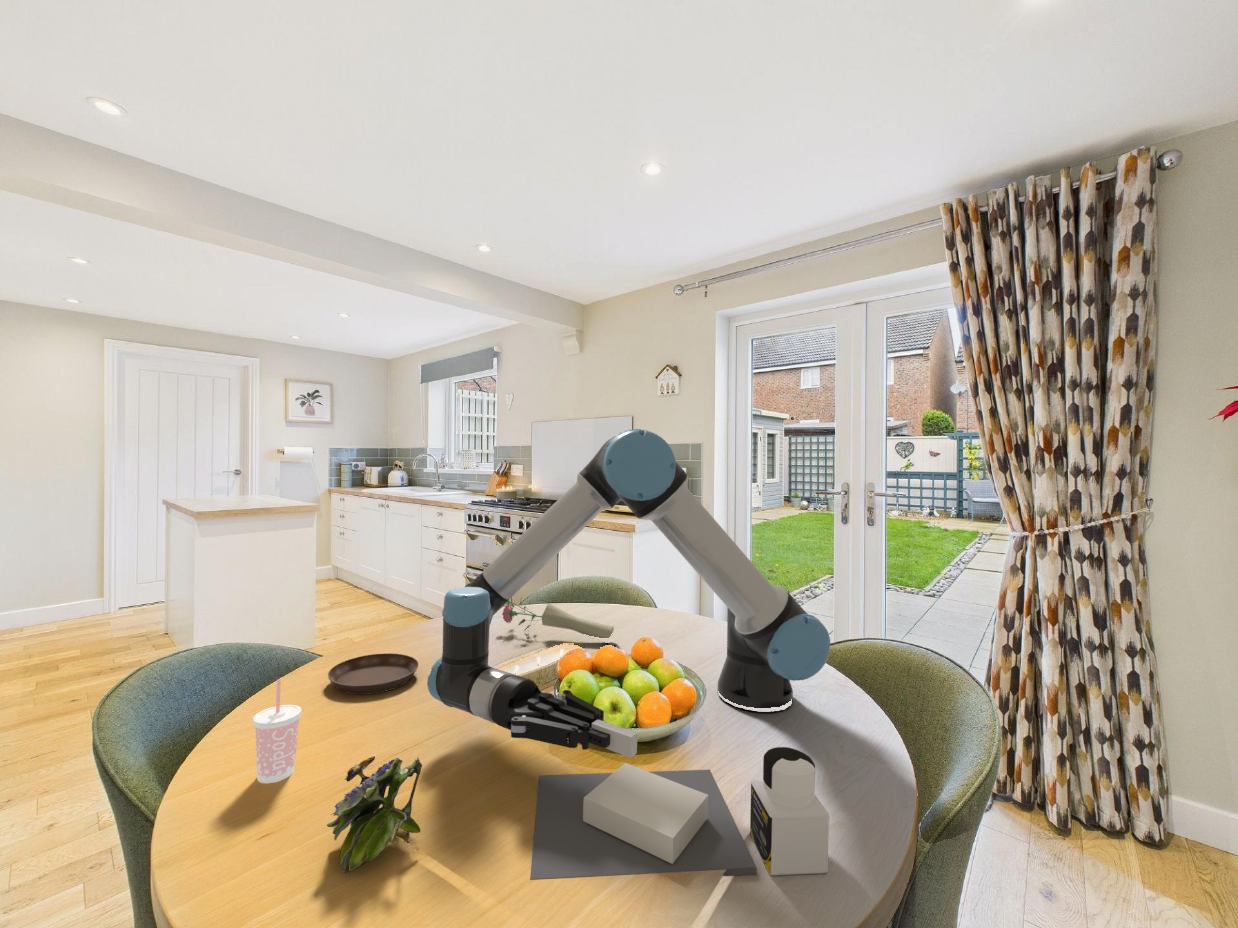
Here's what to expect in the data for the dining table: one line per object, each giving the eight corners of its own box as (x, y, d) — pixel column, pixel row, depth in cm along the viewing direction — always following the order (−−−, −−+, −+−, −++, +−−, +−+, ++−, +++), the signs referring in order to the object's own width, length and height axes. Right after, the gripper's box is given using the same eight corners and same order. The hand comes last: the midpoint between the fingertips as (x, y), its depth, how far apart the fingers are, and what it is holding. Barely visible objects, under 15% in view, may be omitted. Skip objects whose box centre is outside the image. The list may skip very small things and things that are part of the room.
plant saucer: (427, 687, 112) (427, 672, 112) (332, 706, 102) (333, 690, 102) (407, 661, 126) (408, 648, 126) (323, 675, 116) (323, 661, 116)
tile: (583, 797, 69) (673, 837, 61) (625, 762, 77) (708, 794, 70) (582, 822, 68) (672, 865, 61) (624, 784, 77) (707, 819, 70)
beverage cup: (247, 790, 75) (250, 691, 75) (254, 768, 80) (257, 675, 80) (298, 779, 78) (301, 683, 78) (301, 759, 83) (303, 669, 83)
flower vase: (598, 675, 138) (479, 634, 145) (611, 647, 150) (500, 610, 157) (606, 639, 134) (482, 598, 141) (619, 612, 146) (504, 576, 153)
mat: (709, 774, 81) (709, 769, 81) (756, 873, 61) (756, 866, 61) (538, 780, 79) (539, 775, 79) (529, 886, 59) (530, 878, 59)
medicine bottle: (749, 834, 68) (751, 740, 68) (802, 832, 69) (804, 739, 69) (769, 876, 61) (771, 772, 61) (828, 874, 62) (831, 771, 62)
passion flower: (356, 871, 67) (377, 764, 75) (436, 866, 66) (449, 757, 73) (295, 875, 58) (325, 753, 66) (385, 869, 57) (406, 745, 64)
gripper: (534, 708, 89) (657, 752, 76) (473, 740, 78) (605, 798, 65) (535, 663, 89) (658, 699, 76) (474, 689, 78) (607, 736, 65)
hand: (634, 745), depth 70 cm, fingers closed
